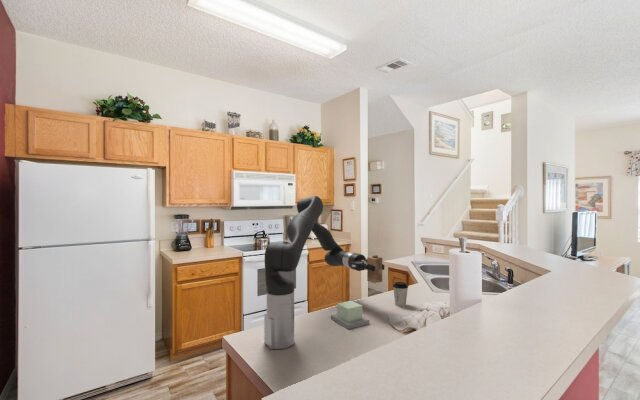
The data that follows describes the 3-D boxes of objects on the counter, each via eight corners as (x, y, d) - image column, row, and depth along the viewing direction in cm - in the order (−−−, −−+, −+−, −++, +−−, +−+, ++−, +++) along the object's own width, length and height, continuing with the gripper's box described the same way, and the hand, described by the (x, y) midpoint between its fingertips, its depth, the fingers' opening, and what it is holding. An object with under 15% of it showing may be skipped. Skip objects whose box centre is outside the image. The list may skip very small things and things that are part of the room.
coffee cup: (411, 306, 137) (411, 284, 137) (398, 308, 135) (398, 285, 135) (402, 301, 144) (402, 280, 144) (389, 303, 141) (389, 282, 141)
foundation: (348, 329, 113) (348, 311, 113) (330, 318, 123) (330, 302, 123) (369, 323, 118) (369, 306, 118) (350, 313, 128) (350, 298, 129)
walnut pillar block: (374, 283, 126) (374, 256, 126) (367, 280, 130) (367, 255, 130) (382, 281, 128) (382, 255, 128) (375, 279, 132) (375, 254, 132)
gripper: (341, 254, 137) (366, 260, 123) (366, 251, 145) (392, 257, 130) (341, 271, 137) (366, 279, 123) (366, 267, 145) (392, 275, 130)
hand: (379, 268), depth 127 cm, fingers closed on walnut pillar block, 4 cm apart
